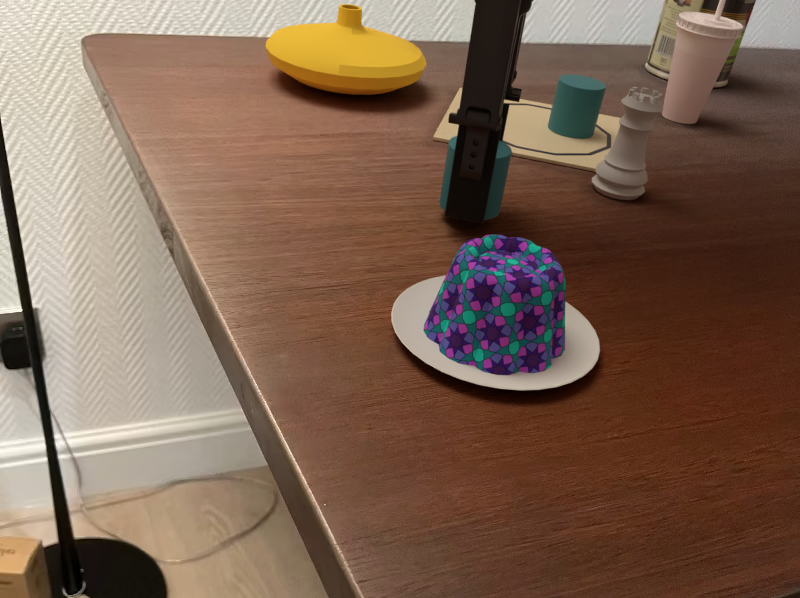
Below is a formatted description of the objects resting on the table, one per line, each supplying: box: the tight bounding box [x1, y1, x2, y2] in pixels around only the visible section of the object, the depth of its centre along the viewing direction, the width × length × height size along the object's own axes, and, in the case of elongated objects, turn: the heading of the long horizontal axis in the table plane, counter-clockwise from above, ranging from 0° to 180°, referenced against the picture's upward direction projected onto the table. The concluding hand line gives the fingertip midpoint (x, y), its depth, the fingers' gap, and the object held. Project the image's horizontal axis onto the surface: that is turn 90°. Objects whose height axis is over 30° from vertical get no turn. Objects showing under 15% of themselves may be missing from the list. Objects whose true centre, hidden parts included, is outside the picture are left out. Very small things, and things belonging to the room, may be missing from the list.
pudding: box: [390, 233, 601, 391], centre depth 45 cm, size 12×12×5 cm
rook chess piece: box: [591, 86, 663, 201], centre depth 65 cm, size 4×4×8 cm
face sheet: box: [432, 87, 622, 173], centre depth 77 cm, size 18×16×1 cm
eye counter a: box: [439, 136, 512, 221], centre depth 57 cm, size 4×4×4 cm
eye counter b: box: [548, 74, 607, 139], centre depth 76 cm, size 4×4×4 cm
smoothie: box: [661, 0, 743, 125], centre depth 81 cm, size 6×6×14 cm
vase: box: [265, 3, 428, 96], centre depth 79 cm, size 16×16×7 cm
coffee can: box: [644, 0, 757, 89], centre depth 96 cm, size 10×10×14 cm
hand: (469, 202), depth 58 cm, fingers closed on eye counter a, 4 cm apart
